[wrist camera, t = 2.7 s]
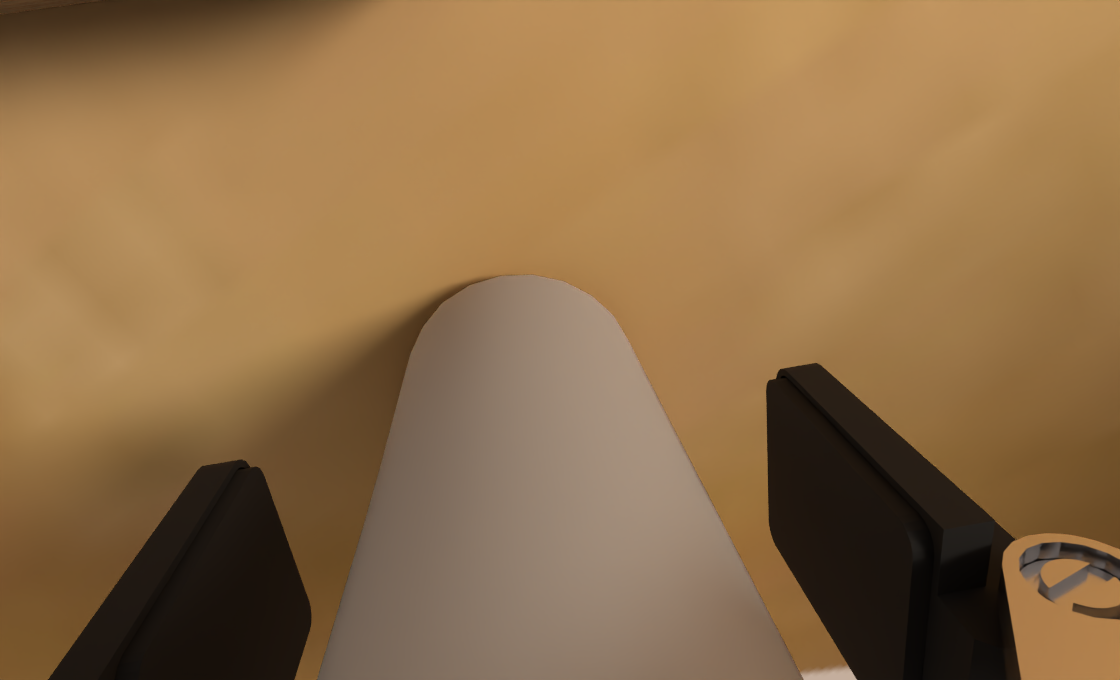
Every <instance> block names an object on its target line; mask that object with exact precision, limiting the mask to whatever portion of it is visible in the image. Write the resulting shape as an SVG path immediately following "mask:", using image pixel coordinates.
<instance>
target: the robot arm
mask: <svg viewBox="0 0 1120 680" xmlns="http://www.w3.org/2000/svg"><path fill="white" fill-rule="evenodd" d="M766 399H767V452H768V504H769V526H770V531H771V535H772V538H773V541H774V543H775V545H776V547H777V548H778V550H779V552H780V553H781V555H782V557H783V558H784V560H785V562H786V563H787V565H788V567H789V568H790V570H791V572H792V573H793V575H794V576H795V578H796V580H797V581H798V583H799V585H800V586H801V588H802V590H803V591H804V593H805V595H806V596H807V598H808V600H809V601H810V603H811V605H812V606H813V608H814V609H815V611H816V613H817V614H818V616H819V618H820V619H821V621H822V623H823V624H824V626H825V628H826V629H827V631H828V633H829V634H830V636H831V638H832V639H833V641H834V642H835V644H836V646H837V647H838V649H839V651H840V652H841V654H842V656H843V657H844V659H845V661H846V662H847V664H848V666H849V667H850V669H851V671H852V672H853V674H854V675H855V677H856V679H857V680H1120V549H1118V548H1115V547H1112V546H1110V545H1107V544H1104V543H1101V542H1099V541H1096V540H1093V539H1088V538H1083V537H1079V536H1074V535H1070V534H1054V533H1043V534H1035V535H1028V536H1025V537H1023V538H1020V539H1018V540H1015V539H1014V538H1013V537H1012V536H1011V535H1010V534H1008V533H1007V532H1006V531H1005V530H1004V529H1003V528H1002V527H1001V526H1000V525H998V524H997V523H996V522H995V520H994V519H993V518H992V517H991V516H989V515H988V514H987V513H986V512H985V511H984V510H983V509H982V508H980V507H979V506H978V505H977V504H976V503H975V502H974V501H973V500H972V499H970V498H969V497H968V496H967V495H966V494H965V493H964V492H963V491H961V490H960V489H959V488H958V487H957V486H956V485H955V484H954V483H952V482H951V481H950V480H949V479H948V478H947V477H946V476H945V475H943V474H942V473H941V472H940V471H939V470H938V469H937V468H936V467H934V466H933V465H932V464H931V463H930V462H929V461H928V460H927V459H925V458H924V457H923V456H922V455H921V454H920V453H919V452H918V451H916V450H915V449H914V448H913V447H912V446H911V445H910V444H909V443H907V442H906V441H905V440H904V439H903V438H902V437H901V436H900V435H898V434H897V433H896V432H895V431H894V430H893V429H892V428H891V427H889V426H888V425H887V424H886V423H885V422H884V421H883V420H882V419H880V418H879V417H878V416H877V415H876V414H875V413H874V412H873V411H871V410H870V409H869V408H868V407H867V406H866V405H865V404H864V403H863V402H861V401H860V400H859V399H858V398H857V397H856V396H855V395H854V394H852V393H851V392H850V391H849V390H848V389H847V388H846V387H845V386H843V385H842V384H841V383H840V382H839V381H838V380H837V379H836V378H834V377H833V376H832V375H831V374H830V373H829V372H828V371H827V370H825V369H824V368H823V367H822V366H821V365H819V364H818V363H814V364H808V365H802V366H796V367H790V368H784V369H780V370H779V371H778V374H777V377H776V379H774V380H769V381H768V383H767V388H766ZM310 627H311V607H310V603H309V600H308V597H307V594H306V591H305V589H304V586H303V583H302V580H301V577H300V575H299V572H298V569H297V566H296V563H295V561H294V558H293V555H292V552H291V549H290V547H289V544H288V541H287V538H286V535H285V533H284V530H283V527H282V524H281V521H280V519H279V516H278V513H277V510H276V507H275V505H274V502H273V499H272V496H271V493H270V491H269V488H268V485H267V482H266V480H265V477H264V474H263V472H262V471H261V469H260V468H258V467H252V468H250V466H249V465H248V463H247V462H246V461H244V460H236V461H230V462H224V463H218V464H212V465H206V466H202V467H201V468H200V469H199V470H198V471H197V472H196V473H195V475H194V476H193V478H192V479H191V480H190V482H189V483H188V485H187V486H186V487H185V489H184V490H183V492H182V493H181V494H180V496H179V497H178V499H177V500H176V501H175V503H174V504H173V506H172V507H171V508H170V510H169V511H168V513H167V514H166V515H165V517H164V518H163V520H162V521H161V522H160V524H159V525H158V527H157V528H156V529H155V531H154V532H153V534H152V535H151V536H150V538H149V539H148V541H147V542H146V543H145V545H144V546H143V548H142V549H141V550H140V552H139V553H138V555H137V556H136V557H135V559H134V560H133V562H132V563H131V564H130V566H129V567H128V569H127V570H126V571H125V573H124V574H123V576H122V577H121V578H120V580H119V581H118V583H117V584H116V585H115V587H114V588H113V590H112V591H111V592H110V594H109V595H108V597H107V598H106V599H105V601H104V602H103V604H102V605H101V606H100V608H99V609H98V611H97V612H96V613H95V615H94V616H93V618H92V619H91V620H90V622H89V623H88V625H87V626H86V627H85V629H84V630H83V632H82V633H81V634H80V636H79V637H78V639H77V640H76V641H75V643H74V644H73V646H72V647H71V648H70V650H69V651H68V653H67V654H66V655H65V657H64V658H63V660H62V661H61V662H60V664H59V665H58V667H57V668H56V669H55V671H54V672H53V674H52V675H51V676H50V678H49V679H48V680H294V679H295V676H296V673H297V669H298V666H299V663H300V660H301V657H302V653H303V650H304V647H305V644H306V641H307V637H308V634H309V631H310Z"/></svg>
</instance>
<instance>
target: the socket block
mask: <svg viewBox="0 0 1120 680" xmlns="http://www.w3.org/2000/svg"><path fill="white" fill-rule="evenodd" d="M96 1H103V0H0V15H2V14H9V13H16V12H23V11H30V10H38V9H45V8H52V7H59V6H67V5H74V4H81V3H88V2H96Z"/></svg>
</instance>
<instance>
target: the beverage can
mask: <svg viewBox="0 0 1120 680" xmlns="http://www.w3.org/2000/svg"><path fill="white" fill-rule="evenodd" d="M317 680H803V678H802V676H801V674H800V672H799V670H798V668H797V666H796V664H795V662H794V660H793V659H792V657H791V655H790V653H789V651H788V649H787V647H786V645H785V643H784V641H783V639H782V637H781V635H780V633H779V631H778V629H777V628H776V626H775V624H774V622H773V620H772V618H771V616H770V614H769V612H768V610H767V608H766V606H765V604H764V602H763V600H762V598H761V597H760V595H759V593H758V591H757V589H756V587H755V585H754V583H753V581H752V579H751V577H750V575H749V573H748V571H747V569H746V567H745V565H744V564H743V562H742V560H741V558H740V556H739V554H738V552H737V550H736V548H735V546H734V544H733V542H732V540H731V538H730V536H729V534H728V533H727V531H726V529H725V527H724V525H723V523H722V521H721V519H720V517H719V515H718V513H717V511H716V509H715V507H714V505H713V503H712V502H711V500H710V498H709V496H708V494H707V492H706V490H705V488H704V486H703V484H702V482H701V480H700V478H699V476H698V474H697V472H696V470H695V469H694V467H693V465H692V463H691V461H690V459H689V457H688V455H687V453H686V451H685V449H684V447H683V445H682V443H681V441H680V439H679V438H678V436H677V434H676V432H675V430H674V428H673V426H672V424H671V422H670V420H669V418H668V416H667V414H666V412H665V410H664V408H663V407H662V405H661V403H660V401H659V399H658V397H657V395H656V393H655V391H654V389H653V387H652V385H651V383H650V381H649V379H648V377H647V375H646V374H645V372H644V370H643V368H642V366H641V364H640V362H639V360H638V358H637V356H636V354H635V352H634V350H633V348H632V346H631V344H630V343H629V341H628V339H627V337H626V336H625V334H624V332H623V331H622V329H621V327H620V326H619V324H618V322H617V321H616V319H615V317H614V316H613V315H612V314H611V313H610V312H609V311H608V310H607V309H606V308H605V307H604V306H602V305H601V304H600V303H599V302H598V301H597V300H596V299H595V298H594V297H593V296H592V295H590V294H588V293H586V292H584V291H582V290H580V289H578V288H576V287H574V286H572V285H570V284H568V283H566V282H564V281H560V280H556V279H551V278H546V277H541V276H537V275H510V276H498V277H495V278H492V279H488V280H485V281H482V282H479V283H475V284H472V285H469V286H467V287H466V288H464V289H463V290H461V291H460V292H458V293H457V294H455V295H453V296H452V297H450V298H449V299H447V300H446V301H444V302H443V303H442V304H441V305H440V306H439V307H438V309H437V310H436V311H435V312H434V314H433V315H432V316H431V317H430V319H429V320H428V321H427V322H426V324H425V325H424V326H423V328H422V330H421V332H420V334H419V336H418V338H417V341H416V343H415V345H414V347H413V349H412V351H411V354H410V357H409V361H408V365H407V368H406V372H405V376H404V380H403V383H402V387H401V391H400V395H399V398H398V402H397V406H396V410H395V413H394V417H393V421H392V424H391V428H390V432H389V436H388V439H387V443H386V447H385V451H384V454H383V458H382V462H381V465H380V469H379V473H378V476H377V480H376V483H375V487H374V490H373V494H372V498H371V501H370V505H369V508H368V512H367V515H366V519H365V522H364V525H363V529H362V532H361V535H360V539H359V542H358V545H357V549H356V552H355V555H354V559H353V562H352V565H351V569H350V572H349V575H348V579H347V582H346V585H345V589H344V592H343V595H342V599H341V602H340V605H339V609H338V612H337V615H336V619H335V622H334V625H333V628H332V632H331V635H330V638H329V642H328V645H327V648H326V652H325V655H324V658H323V662H322V665H321V668H320V671H319V675H318V678H317Z"/></svg>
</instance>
